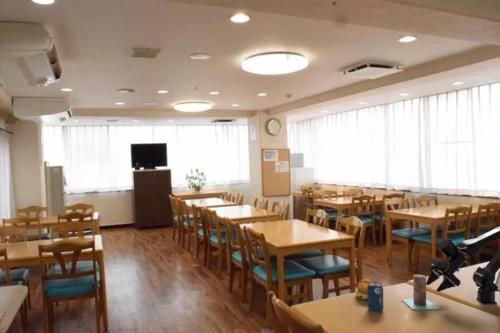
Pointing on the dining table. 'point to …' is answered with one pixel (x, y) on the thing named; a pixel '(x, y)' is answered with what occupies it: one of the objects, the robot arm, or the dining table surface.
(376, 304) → the soda can
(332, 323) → the dining table surface
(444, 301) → the dining table surface
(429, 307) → the board
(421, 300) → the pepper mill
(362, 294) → the cheeseburger
